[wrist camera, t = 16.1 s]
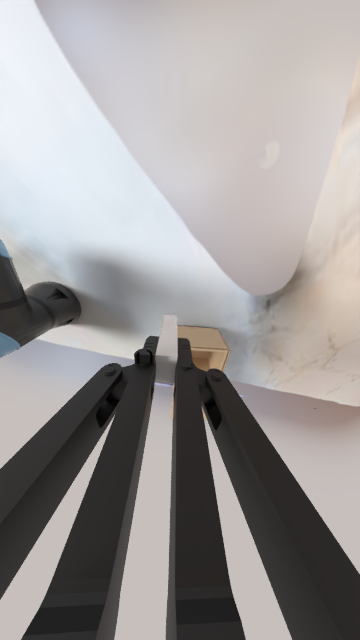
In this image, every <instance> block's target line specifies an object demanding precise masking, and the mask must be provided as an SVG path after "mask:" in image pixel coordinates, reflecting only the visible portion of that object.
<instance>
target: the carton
mask: <svg viewBox="0 0 360 640" xmlns="http://www.w3.org/2000/svg"><path fill="white" fill-rule="evenodd" d="M177 338H187V339H188V340H189V341H190V346H191V353H192V360H193V363H194V364H195V366H196V367H197V368H199V369H201V370H204V371H208V370H209V369H211V368H216V369H219V370H221V371H222V372H224V369H225V366H226V364H227V361H228V358H229V355H230V350H229V348H228V346H227V344H226V343H225V341H224V339H223V337H222V335H221V333H219V332H218V330H217V329H214V328H201V327H188V326H177Z"/></svg>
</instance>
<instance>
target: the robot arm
mask: <svg viewBox="0 0 360 640" xmlns="http://www.w3.org/2000/svg"><path fill="white" fill-rule="evenodd" d="M80 313H81V308H80V304H79V302H78V300H77V298H76V297H75V295H74V294H73V293H72V292H71V291H70V290H68V289H67V288H65V287H64V286H62V285H60V284H57V283H54V282H42V283H37V284H34V285H32V286H31V287H29V288H28V289H26V290H25V291H24V289H23V287H22V285H21V282H20V280H19V277H18V275H17V272H16V270H15V267H14V265H13V262H12V257H10V256H9V254H8V252H7V250H6V247H5V245H4V243H3V242H2V240H1V239H0V358H1V357H3V356H5V355H7V354H9V353H11V352H13V351H15V350H18V349H19V348H20V347H22V346H23V345H25V344H26V343H28V342H30V341H32V340H33V339H35V338H37V337H38V336H40V335H42V334H43V333H45V332H47V331H48V330H50V329H52V328H56V327H60V326H65V325H68V324H71V323H72V322H74V321H75V320H77V319H78V318H79V316H80ZM134 357H135V364H133V365H130V366H126V367H121V366H120V365H119V364H117V363H112V364H108V365H105V366H104V367H103V368H101V369H100V370H99V371H98V372H97V373H96V374H95V375H94V376H93V377H92V378H91V379H90V380H89V381H88V382H87V383H86V384H85V385H84V386H83V387H82V388H81V389H80V390H79V391H78V392H77V393H76V394H75V395H74V396H73V397H72V398H71V399H70V400H69V401H68V402H67V403H66V404H65V405H64V406H63V407H62V408H61V409H60V410H59V411H58V412H57V413H56V414H55V415H54V416H53V417H52V418H51V419H50V420H49V421H48V422H47V423H46V424H45V425H44V426H43V427H42V428H41V429H40V430H39V431H38V432H37V433H36V434H35V435H34V436H33V437H32V438H31V439H30V440H29V441H28V442H27V443H26V444H25V445H24V446H23V447H22V448H21V449H20V450H19V451H18V452H17V453H16V454H15V455H14V456H13V457H12V458H11V459H10V460H9V461H8V462H7V463H6V464H5V465H4V466H3V467H2V468H1V469H0V599H1V598H2V596H3V594H4V593H5V591H6V590H7V588H8V586H9V585H10V583H11V581H12V580H13V578H14V577H15V575H16V573H17V572H18V570H19V569H20V567H21V565H22V564H23V562H24V560H25V559H26V557H27V556H28V554H29V552H30V551H31V549H32V548H33V546H34V544H35V543H36V541H37V539H38V538H39V536H40V535H41V533H42V531H43V530H44V528H45V526H46V525H47V523H48V522H49V520H50V518H51V517H52V515H53V514H54V512H55V510H56V509H57V507H58V505H59V504H60V502H61V500H62V499H63V497H64V496H65V494H66V493H67V491H68V489H69V488H70V486H71V484H72V483H73V481H74V480H75V478H76V476H77V475H78V473H79V472H80V470H81V468H82V467H83V465H84V463H85V462H86V460H87V459H88V457H89V455H90V454H91V452H92V451H93V449H94V447H95V446H96V444H97V442H98V441H99V439H100V437H101V436H102V434H103V433H104V431H105V430H106V428H107V426H108V425H109V423H110V421H111V420H112V418H113V417H114V415H115V417H114V420H113V422H112V425H111V427H110V430H109V432H108V435H107V438H106V440H105V443H104V445H103V448H102V451H101V453H100V456H99V458H98V461H97V464H96V467H95V469H94V472H93V474H92V477H91V479H90V482H89V485H88V487H87V490H86V493H85V495H84V498H83V500H82V503H81V506H80V508H79V511H78V513H77V516H76V518H75V521H74V524H73V526H72V529H71V532H70V534H69V537H68V539H67V542H66V544H65V547H64V550H63V552H62V555H61V558H60V560H59V563H58V565H57V568H56V571H55V573H54V576H53V578H52V581H51V583H50V586H49V588H48V591H47V593H46V596H45V598H44V600H43V602H42V604H41V606H40V608H39V610H38V611H37V613H36V615H35V616H34V618H33V620H32V622H31V623H30V625H29V627H28V628H27V630H26V632H25V634H24V635H23V637H22V639H21V640H114V636H115V630H116V624H117V616H118V609H119V598H120V591H121V584H122V578H123V572H124V565H125V560H126V554H127V548H128V542H129V536H130V529H131V524H132V518H133V511H134V506H135V500H136V494H137V488H138V482H139V476H140V471H141V465H142V458H143V453H144V447H145V440H146V435H147V429H148V423H149V417H150V411H151V405H152V399H153V393H154V383H155V382H159V383H174V393H173V397H174V400H173V436H172V472H171V473H172V475H171V508H170V545H169V580H168V600H167V618H166V640H246V639H245V635H244V631H243V627H242V623H241V619H240V616H239V613H238V610H237V607H236V604H235V601H234V598H233V593H232V589H231V585H230V579H229V575H228V568H227V562H226V555H225V549H224V543H223V537H222V531H221V524H220V518H219V512H218V505H217V499H216V493H215V487H214V480H213V474H212V467H211V461H210V455H209V449H208V442H207V436H206V430H205V423H204V417H203V411H202V408H203V410H204V413H205V415H206V418H207V420H208V423H209V426H210V428H211V431H212V433H213V436H214V439H215V441H216V444H217V446H218V449H219V451H220V454H221V457H222V459H223V462H224V464H225V467H226V470H227V472H228V474H229V477H230V480H231V482H232V485H233V488H234V490H235V493H236V495H237V498H238V500H239V503H240V505H241V508H242V511H243V513H244V516H245V519H246V521H247V524H248V526H249V529H250V531H251V534H252V536H253V539H254V542H255V544H256V547H257V550H258V552H259V555H260V557H261V560H262V562H263V565H264V568H265V570H266V573H267V575H268V578H269V581H270V583H271V586H272V588H273V591H274V593H275V596H276V599H277V601H278V604H279V606H280V609H281V611H282V614H283V617H284V619H285V622H286V624H287V627H288V630H289V632H290V635H291V637H292V640H360V574H359V573H358V571H357V570H356V568H355V567H354V565H353V564H352V562H351V561H350V559H349V558H348V556H347V555H346V554H345V552H344V551H343V549H342V548H341V546H340V545H339V543H338V542H337V540H336V539H335V537H334V536H333V534H332V533H331V531H330V530H329V528H328V527H327V525H326V524H325V522H324V521H323V519H322V518H321V517H320V515H319V513H318V512H317V510H316V509H315V507H314V506H313V504H312V503H311V501H310V500H309V498H308V497H307V496H306V494H305V493H304V491H303V490H302V488H301V487H300V485H299V484H298V482H297V481H296V479H295V478H294V476H293V475H292V473H291V472H290V471H289V469H288V467H287V466H286V464H285V463H284V461H283V460H282V458H281V457H280V455H279V454H278V452H277V451H276V449H275V448H274V446H273V445H272V444H271V442H270V441H269V439H268V438H267V436H266V435H265V433H264V432H263V430H262V429H261V427H260V426H259V424H258V423H257V421H256V420H255V418H254V417H253V415H252V414H251V412H250V411H249V409H248V408H247V406H246V405H245V403H244V402H243V400H242V399H241V397H240V396H239V394H238V393H237V391H236V390H235V388H234V387H233V386H232V384H231V383H230V381H229V380H228V378H227V377H226V375H225V374H224V373H223V372H222V371H221V370H219V369H216V368H211V369H209V370H208V371H204V370H201V369H199V368H197V367H196V366H195V364H194V363H193V360H192V353H191V346H190V341H189V340H188V339H187V338H177V316H175V315H164V318H163V322H162V327H161V332H160V336H159V337H156V336H149V337H148V338H147V339H146V342H145V344H144V347H143V349H139V350H138V351H136V352H135V354H134ZM115 413H116V414H115Z"/></svg>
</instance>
